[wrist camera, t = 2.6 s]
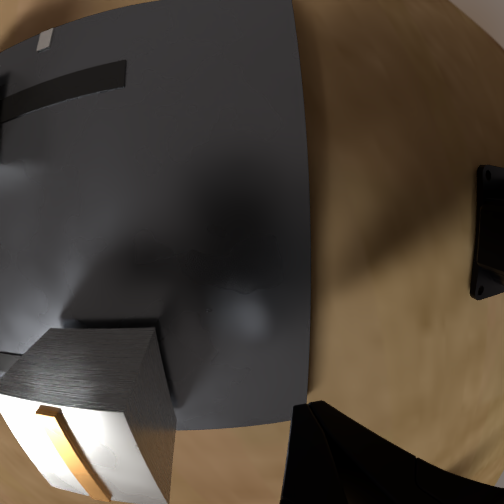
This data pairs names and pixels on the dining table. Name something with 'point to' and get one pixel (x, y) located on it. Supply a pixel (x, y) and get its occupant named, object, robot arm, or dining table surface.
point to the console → (164, 197)
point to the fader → (95, 412)
